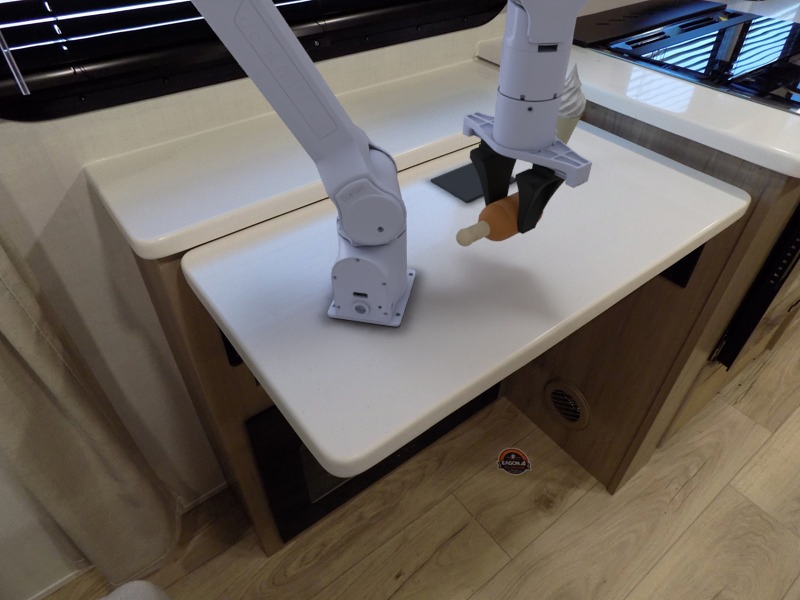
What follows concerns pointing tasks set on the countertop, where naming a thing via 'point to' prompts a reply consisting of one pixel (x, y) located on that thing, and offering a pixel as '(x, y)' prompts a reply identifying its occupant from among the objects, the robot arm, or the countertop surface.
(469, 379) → the countertop surface
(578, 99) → the ice cream cone
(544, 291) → the countertop surface
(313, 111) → the robot arm
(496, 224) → the drumstick
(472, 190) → the mat
